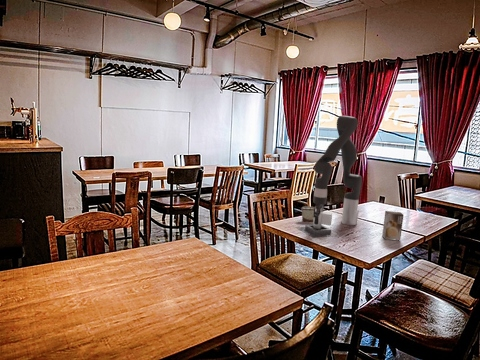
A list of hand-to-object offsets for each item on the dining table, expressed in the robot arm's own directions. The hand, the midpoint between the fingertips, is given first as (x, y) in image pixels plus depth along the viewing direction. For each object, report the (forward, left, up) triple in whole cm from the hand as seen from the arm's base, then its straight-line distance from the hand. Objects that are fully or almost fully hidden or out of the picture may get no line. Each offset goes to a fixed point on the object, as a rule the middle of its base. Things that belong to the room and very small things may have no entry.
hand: (317, 222), depth 223 cm
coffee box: (-40, +19, -6) cm, 45 cm away
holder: (0, +1, -6) cm, 6 cm away
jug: (-2, +2, -3) cm, 4 cm away
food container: (-8, -21, -6) cm, 23 cm away
